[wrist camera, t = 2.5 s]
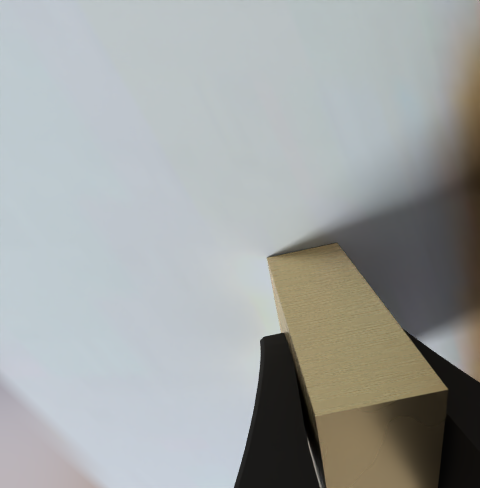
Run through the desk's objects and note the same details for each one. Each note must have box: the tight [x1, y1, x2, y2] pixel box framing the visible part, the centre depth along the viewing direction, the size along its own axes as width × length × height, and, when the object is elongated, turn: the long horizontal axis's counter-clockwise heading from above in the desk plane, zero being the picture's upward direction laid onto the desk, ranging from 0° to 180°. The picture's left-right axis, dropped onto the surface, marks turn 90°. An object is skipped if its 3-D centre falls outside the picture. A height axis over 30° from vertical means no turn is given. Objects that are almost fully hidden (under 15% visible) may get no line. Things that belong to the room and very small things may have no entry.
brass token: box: [267, 243, 448, 488], centre depth 8 cm, size 5×2×5 cm, turn 11°
